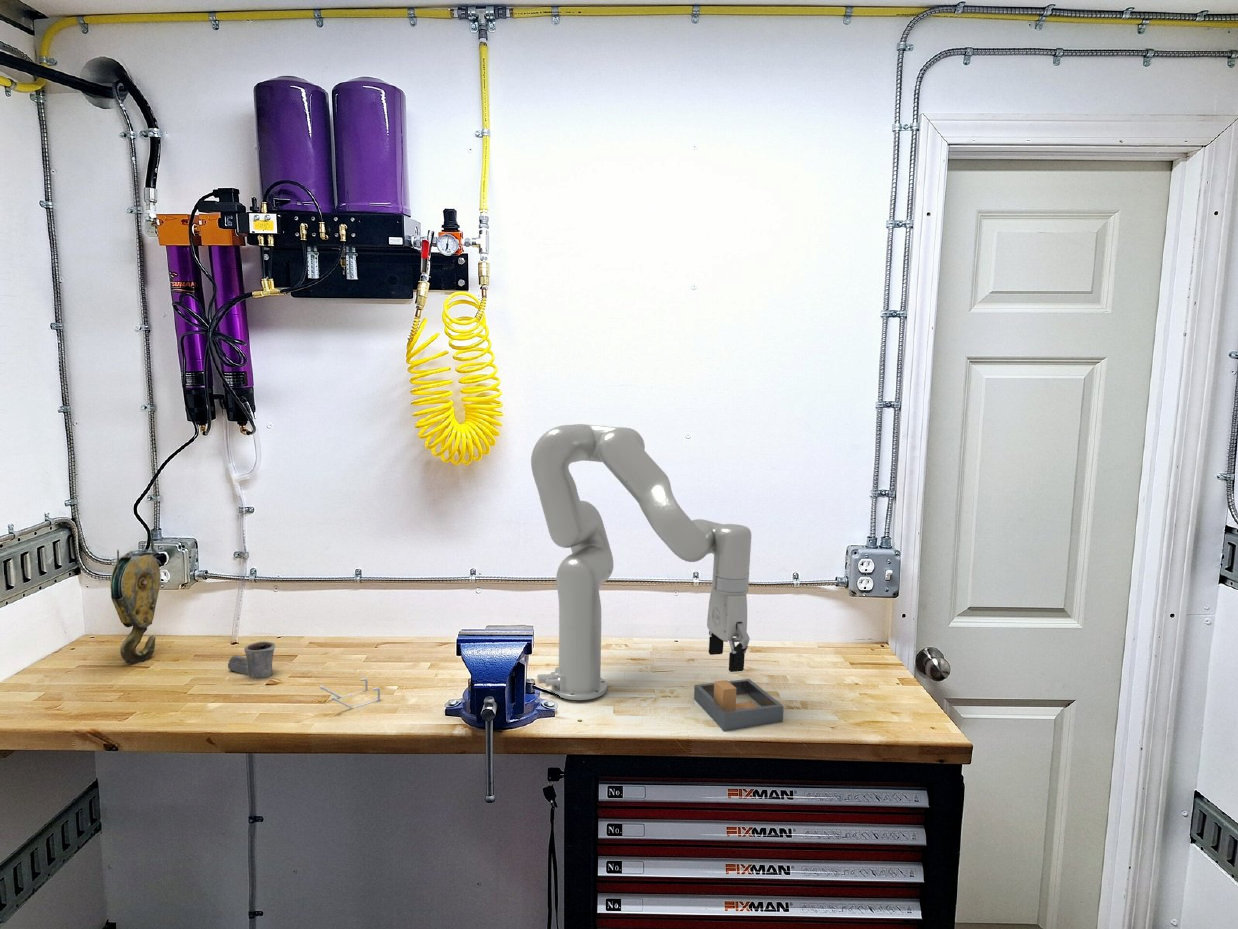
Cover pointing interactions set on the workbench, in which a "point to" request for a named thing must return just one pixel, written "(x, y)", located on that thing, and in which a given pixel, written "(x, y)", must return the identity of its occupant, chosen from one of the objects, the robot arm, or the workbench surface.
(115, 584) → the pulley block
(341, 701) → the wall mount rack
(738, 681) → the well box
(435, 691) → the workbench surface
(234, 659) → the pipe
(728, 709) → the tan stepped block
